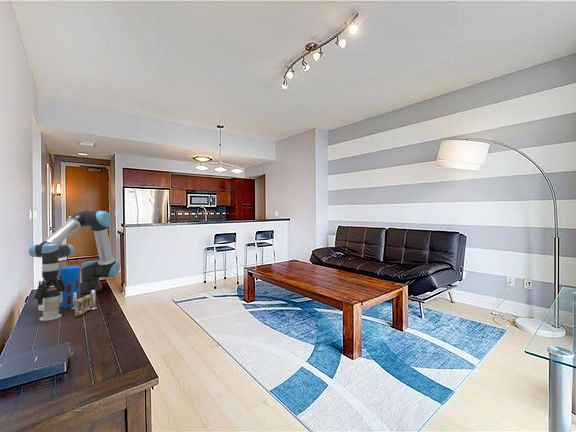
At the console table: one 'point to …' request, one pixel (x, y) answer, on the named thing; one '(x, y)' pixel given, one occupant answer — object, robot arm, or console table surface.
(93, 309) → the hinge post
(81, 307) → the gate
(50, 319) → the coaster
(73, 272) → the thermos
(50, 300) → the coffee cup
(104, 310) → the console table surface
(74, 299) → the post
